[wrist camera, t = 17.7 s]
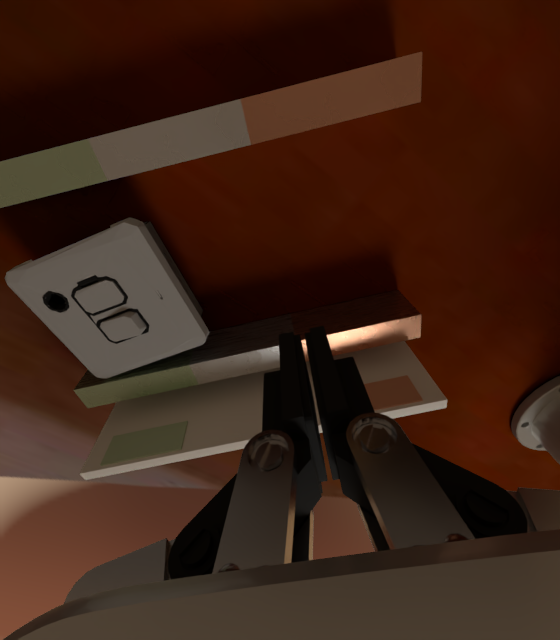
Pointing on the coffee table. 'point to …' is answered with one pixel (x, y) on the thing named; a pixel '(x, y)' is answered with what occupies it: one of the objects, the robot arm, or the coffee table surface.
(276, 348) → the far rail
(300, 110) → the near rail
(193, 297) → the electrical switch
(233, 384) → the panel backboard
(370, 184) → the coffee table surface
